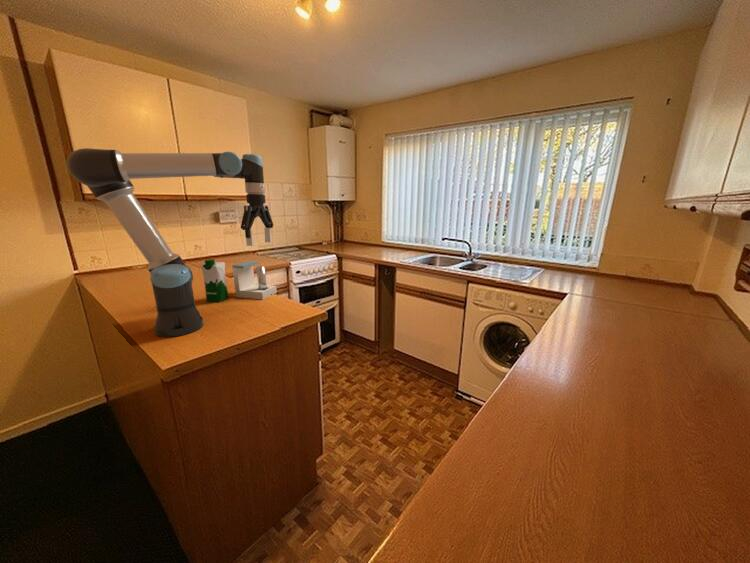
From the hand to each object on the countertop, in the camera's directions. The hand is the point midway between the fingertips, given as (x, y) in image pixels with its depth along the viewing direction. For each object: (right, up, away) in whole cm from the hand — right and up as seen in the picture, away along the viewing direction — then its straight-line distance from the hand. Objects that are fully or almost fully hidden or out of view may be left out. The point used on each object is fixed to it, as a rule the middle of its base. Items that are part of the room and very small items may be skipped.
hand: (259, 243), depth 131 cm
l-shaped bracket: (-10, -23, +22) cm, 34 cm away
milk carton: (-26, -26, +14) cm, 39 cm away
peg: (-6, -24, +21) cm, 32 cm away
